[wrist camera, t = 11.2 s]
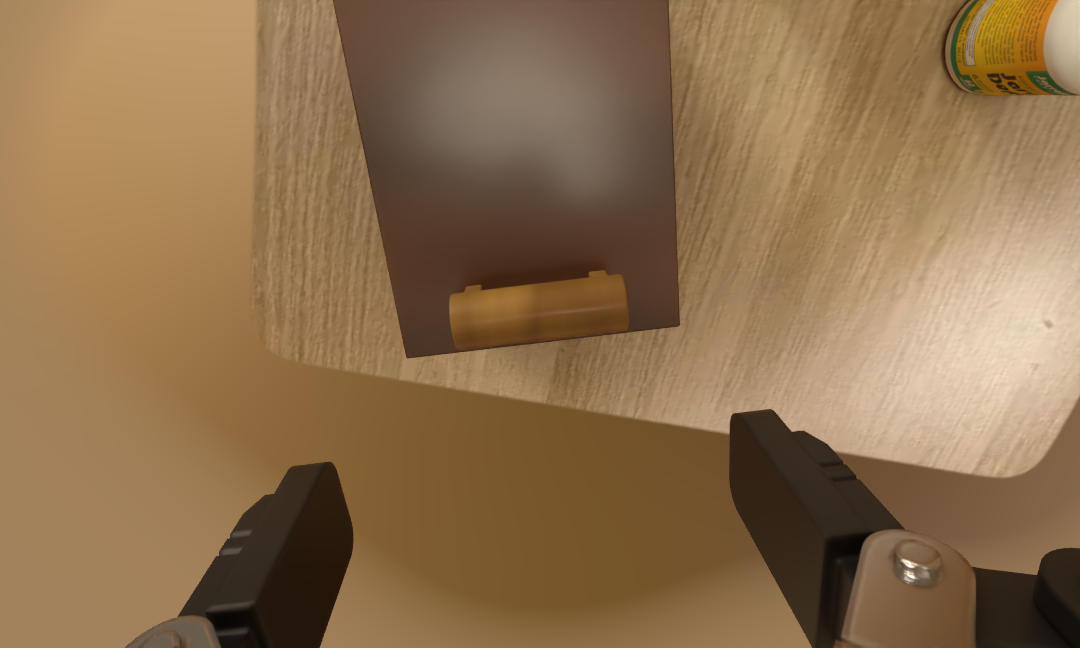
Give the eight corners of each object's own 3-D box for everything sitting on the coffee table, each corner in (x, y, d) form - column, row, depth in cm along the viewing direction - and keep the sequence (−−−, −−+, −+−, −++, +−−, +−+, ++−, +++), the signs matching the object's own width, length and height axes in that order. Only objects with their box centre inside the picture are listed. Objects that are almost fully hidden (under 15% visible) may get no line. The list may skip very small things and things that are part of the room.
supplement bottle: (1060, -14, 30) (1296, -62, 21) (1021, 99, 31) (1221, 100, 23) (958, -23, 29) (1154, -75, 20) (926, 92, 31) (1091, 90, 22)
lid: (675, 320, 25) (713, 368, 20) (409, 351, 25) (383, 407, 20) (659, -102, 20) (705, -173, 15) (325, -61, 20) (264, -119, 15)
